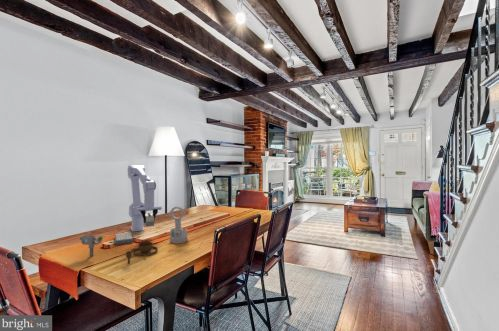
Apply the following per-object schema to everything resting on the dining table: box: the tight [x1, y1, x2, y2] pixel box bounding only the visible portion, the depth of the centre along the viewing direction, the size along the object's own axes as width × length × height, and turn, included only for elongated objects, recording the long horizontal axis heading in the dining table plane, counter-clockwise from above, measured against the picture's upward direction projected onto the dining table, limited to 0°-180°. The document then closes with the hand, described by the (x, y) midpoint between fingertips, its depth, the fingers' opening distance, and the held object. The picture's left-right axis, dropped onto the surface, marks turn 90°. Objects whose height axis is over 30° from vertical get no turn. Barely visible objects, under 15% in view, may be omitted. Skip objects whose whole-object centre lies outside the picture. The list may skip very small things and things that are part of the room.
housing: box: [143, 212, 155, 228], centre depth 157 cm, size 8×4×7 cm, turn 29°
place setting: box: [125, 241, 158, 265], centre depth 129 cm, size 18×20×6 cm
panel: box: [114, 231, 134, 246], centre depth 151 cm, size 14×9×2 cm, turn 28°
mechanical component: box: [79, 234, 103, 258], centre depth 126 cm, size 3×10×10 cm, turn 89°
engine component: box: [169, 205, 188, 244], centre depth 153 cm, size 11×20×10 cm
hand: (149, 222), depth 157 cm, fingers closed on housing, 4 cm apart
